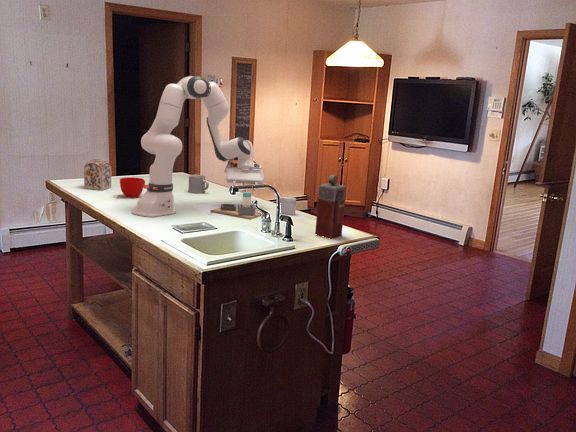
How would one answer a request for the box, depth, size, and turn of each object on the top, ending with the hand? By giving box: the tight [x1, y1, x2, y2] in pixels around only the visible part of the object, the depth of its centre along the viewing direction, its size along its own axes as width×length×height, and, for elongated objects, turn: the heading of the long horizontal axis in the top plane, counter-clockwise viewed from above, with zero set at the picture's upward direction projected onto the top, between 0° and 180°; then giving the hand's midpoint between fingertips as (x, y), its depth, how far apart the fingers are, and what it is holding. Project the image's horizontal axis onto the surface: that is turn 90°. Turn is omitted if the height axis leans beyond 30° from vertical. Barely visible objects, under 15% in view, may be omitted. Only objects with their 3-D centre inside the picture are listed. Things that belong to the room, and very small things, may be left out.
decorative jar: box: [83, 157, 112, 191], centre depth 310 cm, size 12×12×18 cm
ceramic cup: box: [119, 176, 146, 199], centre depth 295 cm, size 13×17×10 cm
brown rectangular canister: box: [314, 174, 347, 240], centre depth 237 cm, size 9×11×28 cm
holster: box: [220, 203, 237, 211], centre depth 276 cm, size 8×8×2 cm
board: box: [209, 206, 262, 220], centre depth 272 cm, size 14×24×1 cm, turn 63°
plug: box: [241, 191, 252, 207], centre depth 267 cm, size 4×4×11 cm
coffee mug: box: [188, 174, 210, 195], centre depth 319 cm, size 13×10×10 cm
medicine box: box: [279, 196, 297, 216], centre depth 278 cm, size 8×4×9 cm, turn 74°
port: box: [237, 203, 256, 216], centre depth 268 cm, size 8×8×4 cm
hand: (245, 189), depth 278 cm, fingers open, 8 cm apart
